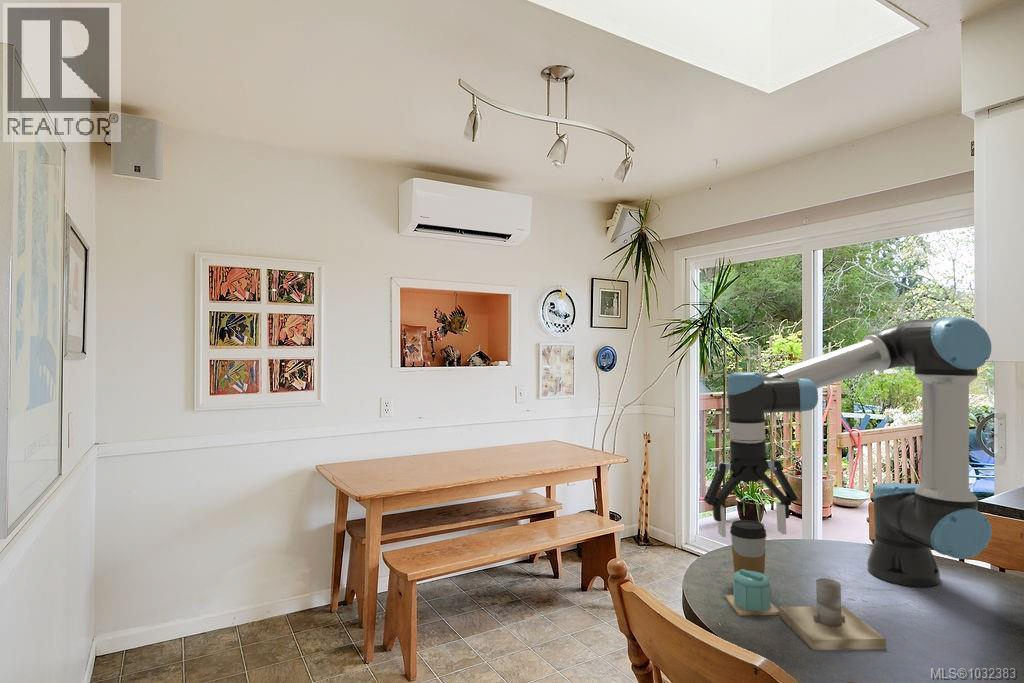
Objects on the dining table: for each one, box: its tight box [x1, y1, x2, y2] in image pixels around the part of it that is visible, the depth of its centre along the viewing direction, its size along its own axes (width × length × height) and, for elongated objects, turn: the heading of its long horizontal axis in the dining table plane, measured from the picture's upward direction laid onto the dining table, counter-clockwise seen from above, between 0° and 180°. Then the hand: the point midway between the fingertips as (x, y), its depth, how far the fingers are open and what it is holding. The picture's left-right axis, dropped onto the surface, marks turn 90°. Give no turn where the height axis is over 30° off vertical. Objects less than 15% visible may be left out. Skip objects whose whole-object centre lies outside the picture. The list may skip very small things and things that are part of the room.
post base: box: [778, 578, 887, 651], centre depth 116 cm, size 14×14×10 cm
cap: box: [732, 569, 772, 611], centre depth 128 cm, size 7×7×7 cm
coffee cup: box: [729, 519, 767, 575], centre depth 139 cm, size 8×8×15 cm
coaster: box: [724, 594, 780, 616], centre depth 128 cm, size 9×9×1 cm
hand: (752, 533), depth 129 cm, fingers open, 13 cm apart
